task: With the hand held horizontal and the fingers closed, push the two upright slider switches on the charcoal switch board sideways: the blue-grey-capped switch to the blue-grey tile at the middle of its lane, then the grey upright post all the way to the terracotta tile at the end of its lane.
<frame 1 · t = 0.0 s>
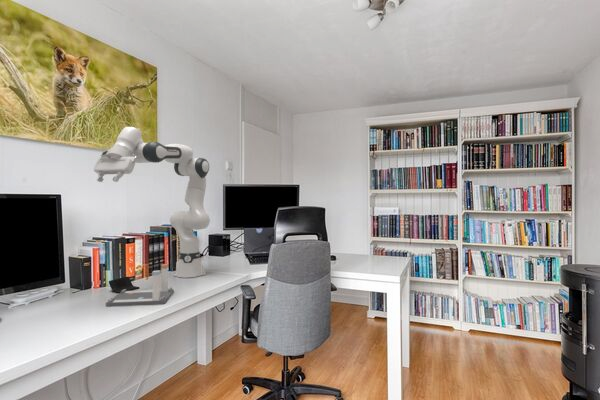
hand: (107, 181, 142), 54 cm above the table, tool tilted 30°, fingers open, 8 cm apart
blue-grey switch: (156, 285, 143), point 8 cm above the table, slide at 0.0 cm
handheld gaming console: (124, 290, 163), on the table
grey upright post: (164, 277, 157), point 8 cm above the table, slide at 0.0 cm
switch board: (142, 298, 148), on the table
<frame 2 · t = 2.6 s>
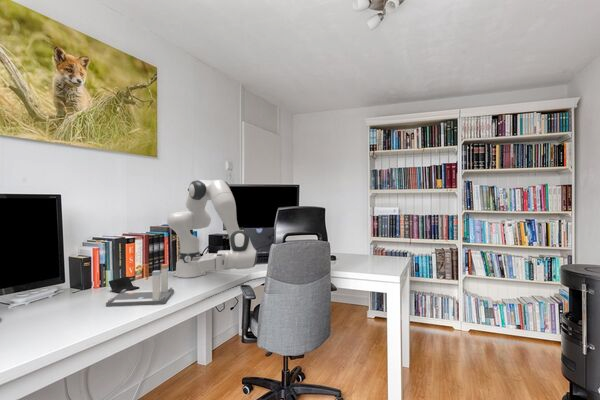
hand: (190, 261, 145), 18 cm above the table, tool horizontal, fingers open, 8 cm apart
nothing on the table moved.
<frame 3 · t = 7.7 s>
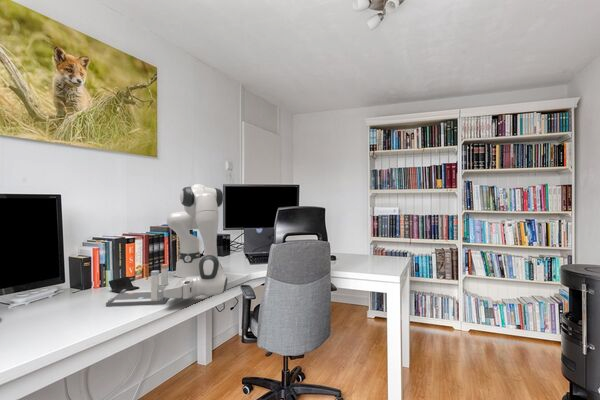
hand: (158, 287, 143), 7 cm above the table, tool horizontal, fingers closed, pressing on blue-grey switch
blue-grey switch: (155, 285, 143), point 8 cm above the table, slide at 0.6 cm, touching gripper
everything else where it was.
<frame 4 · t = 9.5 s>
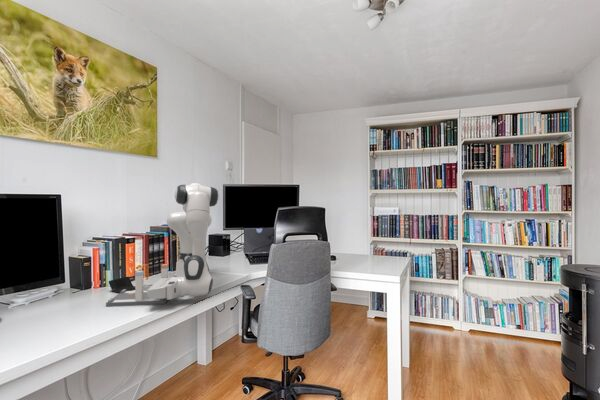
hand: (142, 288, 142), 7 cm above the table, tool horizontal, fingers closed, pressing on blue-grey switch
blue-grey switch: (139, 285, 142), point 8 cm above the table, slide at 7.1 cm, touching gripper
everything else where it was.
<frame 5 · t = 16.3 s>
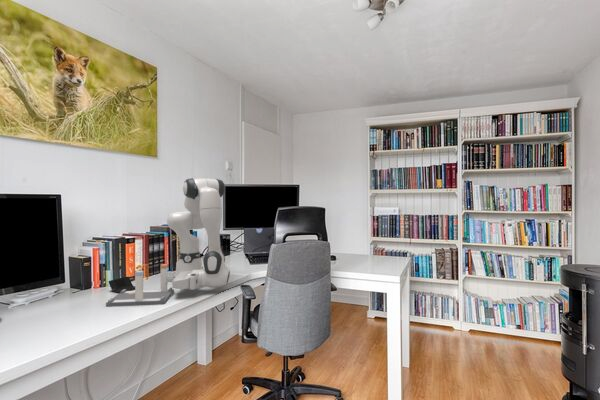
hand: (166, 279, 157), 7 cm above the table, tool horizontal, fingers closed, pressing on grey upright post
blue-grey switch: (139, 285, 142), point 8 cm above the table, slide at 7.2 cm
grey upright post: (164, 277, 157), point 8 cm above the table, slide at 0.3 cm, touching gripper
everything else where it was.
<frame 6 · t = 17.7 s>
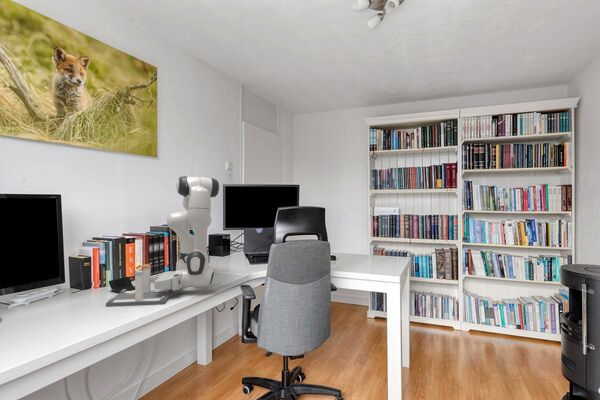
hand: (149, 280, 156), 7 cm above the table, tool horizontal, fingers closed, pressing on grey upright post
grey upright post: (146, 278, 155), point 8 cm above the table, slide at 8.2 cm, touching gripper
everything else where it was.
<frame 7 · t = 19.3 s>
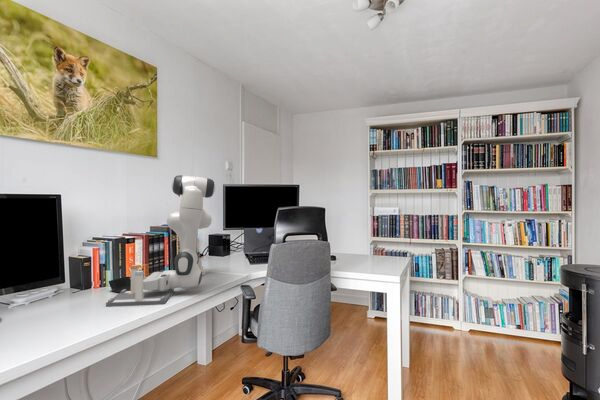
hand: (137, 280, 155), 7 cm above the table, tool horizontal, fingers closed, pressing on grey upright post
grey upright post: (134, 278, 154), point 8 cm above the table, slide at 13.8 cm, touching gripper
everything else where it was.
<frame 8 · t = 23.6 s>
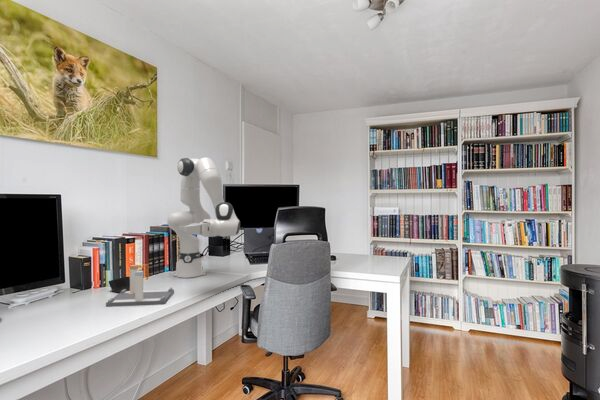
hand: (178, 228, 159), 32 cm above the table, tool horizontal, fingers closed
grey upright post: (133, 278, 154), point 8 cm above the table, slide at 14.2 cm
everything else where it was.
at the end: grey upright post slide at 14.2 cm; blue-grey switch slide at 7.2 cm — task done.
